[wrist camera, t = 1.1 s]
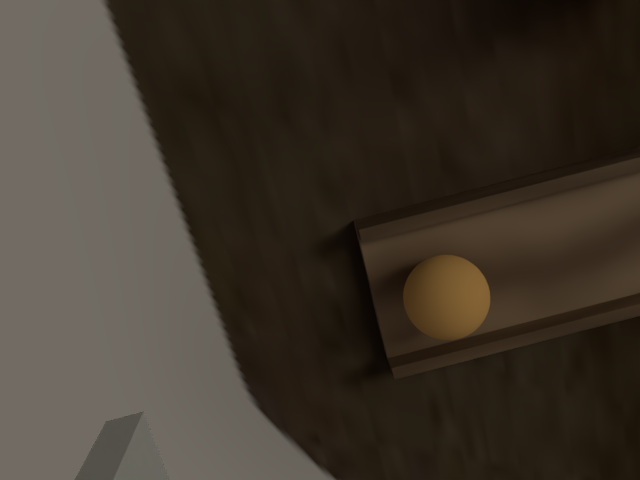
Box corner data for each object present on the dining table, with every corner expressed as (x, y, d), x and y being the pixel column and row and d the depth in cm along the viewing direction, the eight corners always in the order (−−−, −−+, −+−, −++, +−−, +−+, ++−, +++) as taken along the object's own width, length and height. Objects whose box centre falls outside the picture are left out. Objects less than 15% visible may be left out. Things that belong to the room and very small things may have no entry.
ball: (388, 256, 35) (405, 282, 30) (466, 236, 35) (495, 258, 30) (404, 328, 36) (423, 364, 31) (479, 309, 36) (510, 342, 31)
